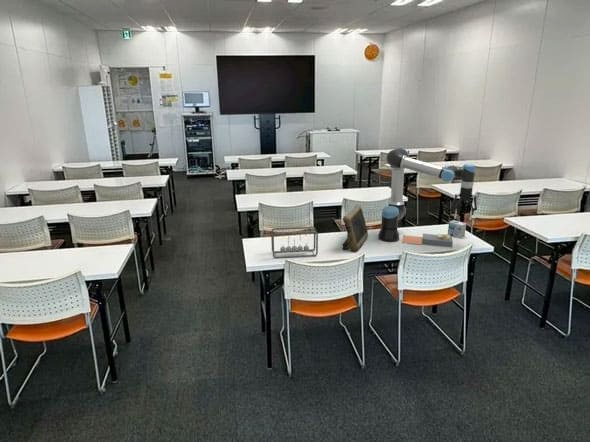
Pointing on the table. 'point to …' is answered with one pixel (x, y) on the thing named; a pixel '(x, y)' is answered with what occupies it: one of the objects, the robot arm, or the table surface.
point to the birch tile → (443, 237)
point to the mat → (412, 240)
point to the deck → (436, 240)
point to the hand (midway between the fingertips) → (462, 218)
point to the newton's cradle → (294, 248)
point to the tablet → (355, 229)
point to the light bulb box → (456, 229)
